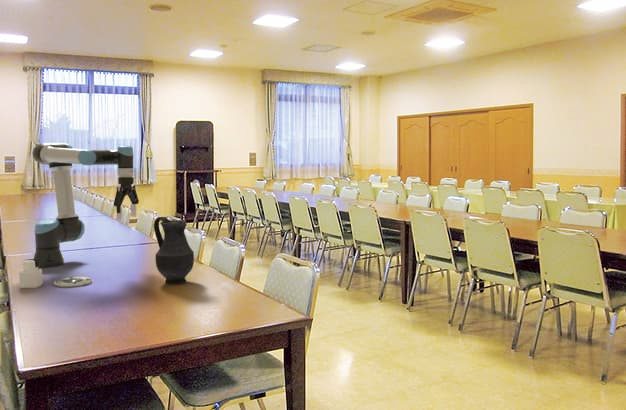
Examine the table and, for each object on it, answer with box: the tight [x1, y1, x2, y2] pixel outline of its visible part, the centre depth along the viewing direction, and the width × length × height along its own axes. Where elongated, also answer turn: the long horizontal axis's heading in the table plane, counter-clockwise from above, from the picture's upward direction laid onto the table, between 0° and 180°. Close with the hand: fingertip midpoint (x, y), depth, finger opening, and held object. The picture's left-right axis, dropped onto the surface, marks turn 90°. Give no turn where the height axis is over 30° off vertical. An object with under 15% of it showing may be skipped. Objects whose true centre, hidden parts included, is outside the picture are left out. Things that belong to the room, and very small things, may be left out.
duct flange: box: [53, 276, 93, 288], centre depth 265 cm, size 16×16×2 cm
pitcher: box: [153, 216, 195, 285], centre depth 267 cm, size 17×21×30 cm
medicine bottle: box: [19, 258, 43, 289], centre depth 258 cm, size 7×7×12 cm
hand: (126, 218), depth 298 cm, fingers open, 13 cm apart
